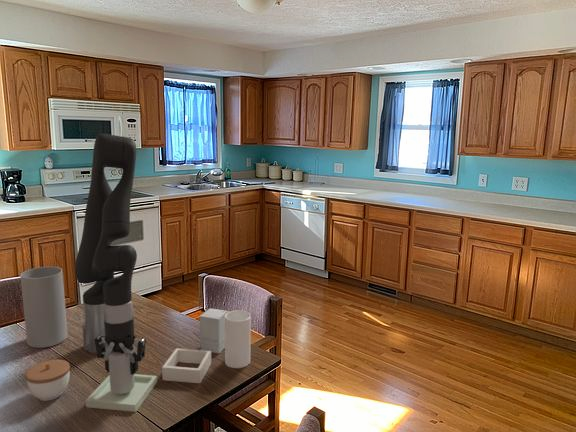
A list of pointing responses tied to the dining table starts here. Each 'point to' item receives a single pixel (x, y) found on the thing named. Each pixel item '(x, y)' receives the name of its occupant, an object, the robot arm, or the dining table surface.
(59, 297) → the cylinder vase
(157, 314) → the dining table surface
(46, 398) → the lidded jar
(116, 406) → the tray
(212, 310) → the supplement box
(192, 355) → the holder
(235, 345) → the cup
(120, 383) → the beverage can
